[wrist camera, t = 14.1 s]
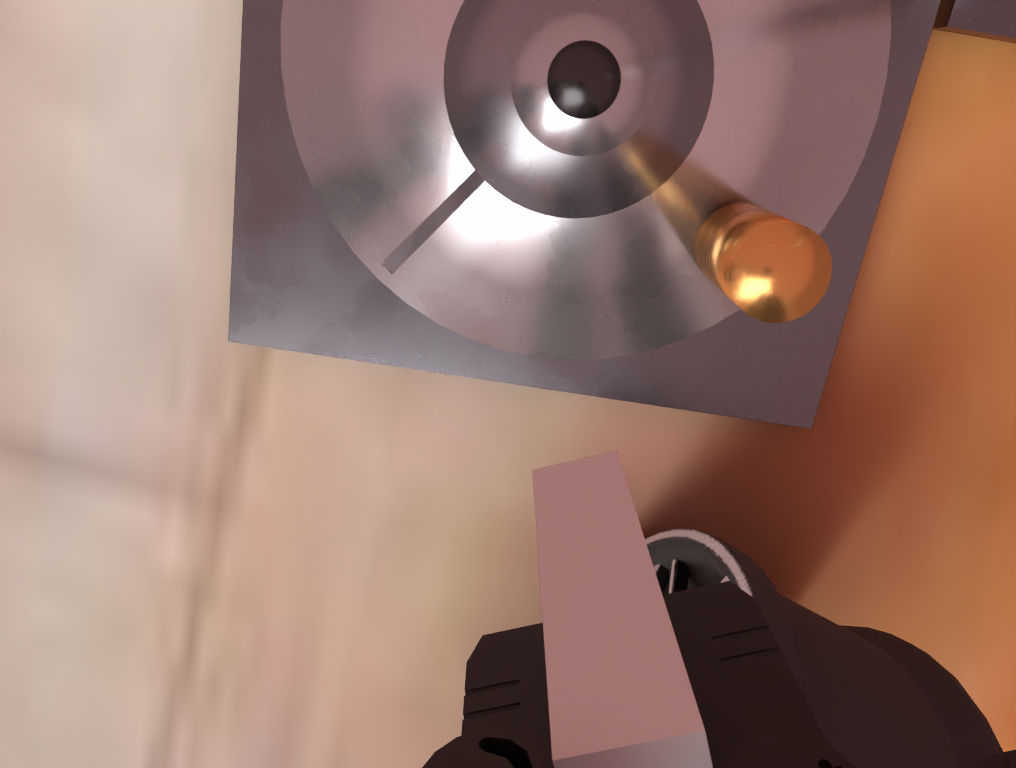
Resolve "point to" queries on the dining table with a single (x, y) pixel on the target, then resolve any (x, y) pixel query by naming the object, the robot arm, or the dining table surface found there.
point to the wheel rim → (844, 668)
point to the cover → (578, 97)
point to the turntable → (603, 239)
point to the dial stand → (979, 18)
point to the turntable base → (432, 347)
